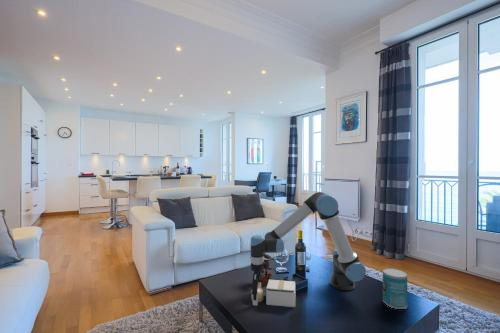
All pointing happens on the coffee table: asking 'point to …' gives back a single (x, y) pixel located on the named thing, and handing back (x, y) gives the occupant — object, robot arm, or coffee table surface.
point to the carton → (280, 298)
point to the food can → (395, 288)
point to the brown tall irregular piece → (266, 276)
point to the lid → (281, 285)
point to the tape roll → (260, 295)
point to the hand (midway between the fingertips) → (257, 298)
